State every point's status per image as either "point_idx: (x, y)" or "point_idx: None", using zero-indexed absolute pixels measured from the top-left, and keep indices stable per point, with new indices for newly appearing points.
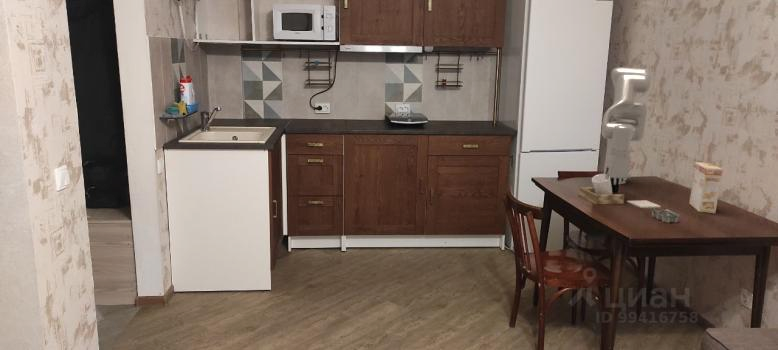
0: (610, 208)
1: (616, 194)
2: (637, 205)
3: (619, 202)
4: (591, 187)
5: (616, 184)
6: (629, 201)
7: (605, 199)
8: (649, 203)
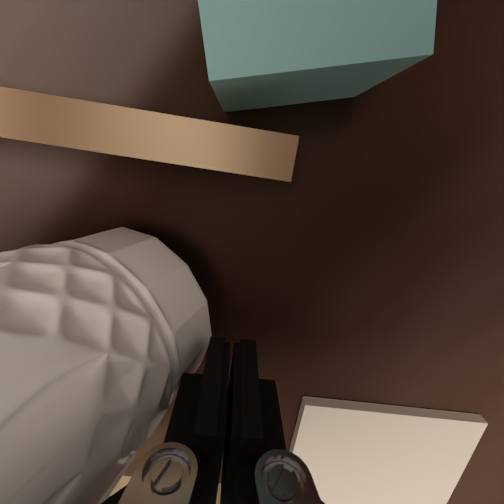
0: None
1: None
2: None
3: None
4: (2, 89)
5: (232, 499)
6: (308, 423)
7: None
8: (417, 487)
